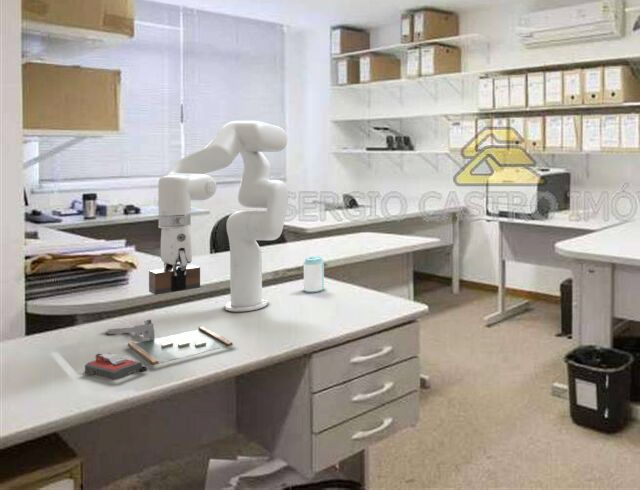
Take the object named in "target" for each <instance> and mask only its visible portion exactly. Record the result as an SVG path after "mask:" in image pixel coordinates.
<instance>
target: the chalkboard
mask: <svg viewBox="0 0 640 490" xmlns="http://www.w3.org/2000/svg"><path fill="white" fill-rule="evenodd" d="M169 342H172V343H173V345H170V346H166V347H162V346H161V344H165V343H169ZM185 342H189V343H190V345H186V346H182V347H179V346H178V344H181V343H185ZM200 342H206V345H202V346H197V347H196V346H195V344H196V343H200ZM127 346H128V347H130V349H132V350H133V351H135V352H136V353H137V354H139V355H140V356H141V357H142V358H144V359H145V360H146V361H147V362H149V363H150V364H151V365H153V366H155V365H159V364H163V363H167V362H170V361H176V360H180V359H182V358H187V357H190V356H194V355H199V354H202V353H206V352H211V351H215V350H218V349H222V348H227V347H231V346H233V342H232V341H230V340H228V339H226V338H225V337H223V336H221V335H219V334H217V333H216V332H214V331H212V330H211V329H209V328H206V327H205V326H198V329H195V330H189V331H185V332H181V333H175V334H171V335H167V336H162V337H158V338H154V339H153V340H149V339H148V340H145V341H139V342H135V341H129V342H127Z"/></svg>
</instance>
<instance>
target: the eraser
mask: <svg viewBox="0 0 640 490" xmlns="http://www.w3.org/2000/svg"><path fill="white" fill-rule="evenodd" d="M178 267H179V266H178ZM178 267H176V269H177V268H178ZM172 276H174V275H173V268H166V269H164V268H159V269H152V270H148V292H149V293H151V294H152V295H155V296H157V295H164V294H169V293H175V292H177V291H175V292H173V291H172ZM200 288H201V266H198V265H195V264H187V267H186V289H185V290H184V291H187V290H188V291H189V290H195V289H200ZM181 291H183V290H181ZM181 291H180V292H181Z"/></svg>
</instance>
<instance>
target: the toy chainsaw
mask: <svg viewBox="0 0 640 490" xmlns="http://www.w3.org/2000/svg"><path fill="white" fill-rule="evenodd" d="M147 371H148V367H147V366H143V362H141V361H136V360H133V357H131V356H127V355H124V354H121V355H118V354H115V353H110V352H106V353H96V354H95V360H92V361H89V362H87V363H86V364H84V373H85V374H89V375H92V376H99V377H102V378H106V379H110V380H120V379H123V378H125V377H128V376H129V375H130V374H136V373H143V372H147Z"/></svg>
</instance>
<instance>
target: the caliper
mask: <svg viewBox="0 0 640 490" xmlns="http://www.w3.org/2000/svg"><path fill="white" fill-rule="evenodd" d="M105 333H106V334H108V335H115V334H116V335H118V334H131V333H132V334H133V333H134V335H135V336H141V335H142V337H143V339H145V340H147V339H148V340H153V339H155V327H154V323H152V319H146V320H144V323H139V324H135V325H133V326H124V327H121V326H120V327H111V328H108V329H107V330H105Z"/></svg>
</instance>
